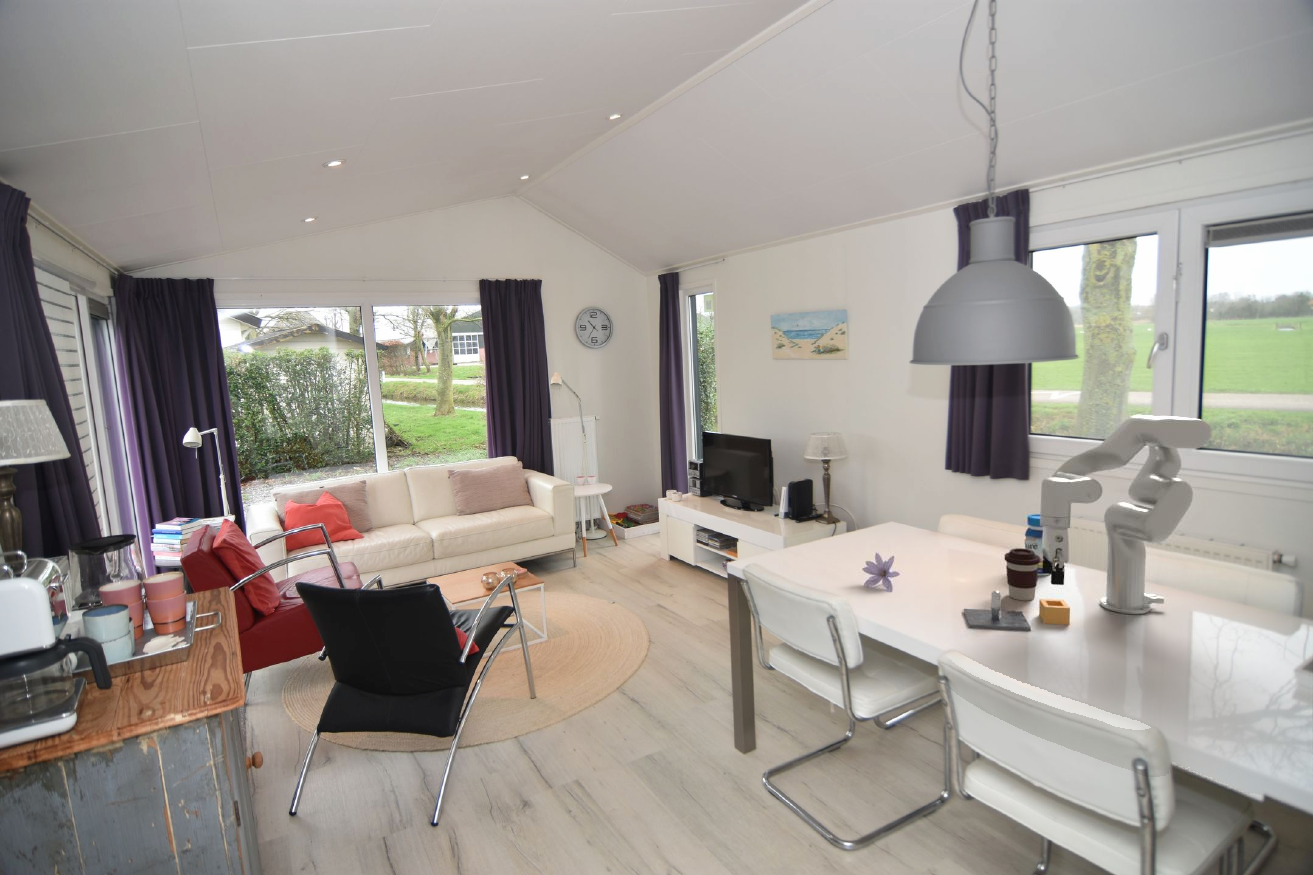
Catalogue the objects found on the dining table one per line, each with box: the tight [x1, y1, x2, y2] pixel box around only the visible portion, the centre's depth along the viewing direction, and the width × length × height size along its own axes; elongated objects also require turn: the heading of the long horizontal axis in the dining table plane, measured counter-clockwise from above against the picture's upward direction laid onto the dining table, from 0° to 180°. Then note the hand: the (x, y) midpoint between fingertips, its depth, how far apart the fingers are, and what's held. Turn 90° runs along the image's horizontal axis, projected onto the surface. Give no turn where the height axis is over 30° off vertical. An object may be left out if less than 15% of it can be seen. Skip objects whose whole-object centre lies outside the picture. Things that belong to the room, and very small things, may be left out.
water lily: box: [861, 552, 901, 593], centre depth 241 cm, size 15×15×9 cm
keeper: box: [963, 590, 1032, 632], centre depth 206 cm, size 16×12×9 cm
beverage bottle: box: [1024, 513, 1050, 577], centre depth 243 cm, size 8×8×20 cm
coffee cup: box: [1004, 547, 1040, 602], centre depth 222 cm, size 10×10×15 cm
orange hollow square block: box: [1038, 598, 1071, 626], centre depth 205 cm, size 6×6×5 cm
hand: (1052, 578), depth 203 cm, fingers open, 9 cm apart
